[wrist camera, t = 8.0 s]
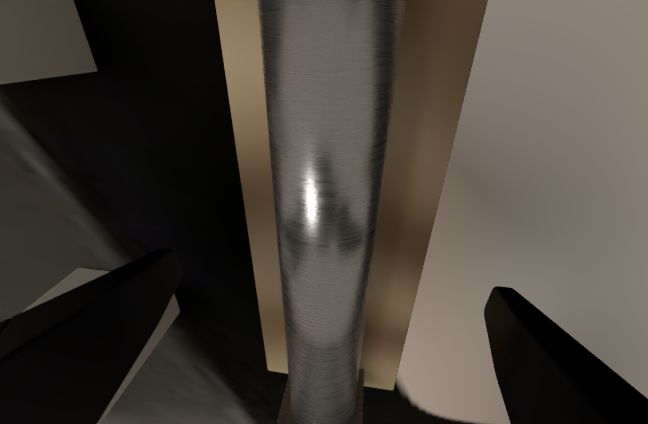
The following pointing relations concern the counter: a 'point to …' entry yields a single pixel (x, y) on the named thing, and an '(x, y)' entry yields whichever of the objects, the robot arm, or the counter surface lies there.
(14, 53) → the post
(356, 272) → the rail
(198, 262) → the counter surface
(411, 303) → the board
